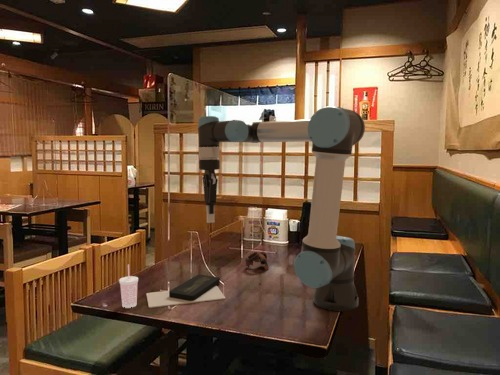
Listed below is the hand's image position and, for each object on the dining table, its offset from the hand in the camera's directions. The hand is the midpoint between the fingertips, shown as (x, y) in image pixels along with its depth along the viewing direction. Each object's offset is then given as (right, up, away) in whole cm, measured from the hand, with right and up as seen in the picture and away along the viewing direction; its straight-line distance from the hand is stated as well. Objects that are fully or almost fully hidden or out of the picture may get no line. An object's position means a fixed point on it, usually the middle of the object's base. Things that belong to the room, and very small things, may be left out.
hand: (210, 222), depth 148 cm
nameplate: (-10, -24, 0) cm, 26 cm away
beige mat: (-8, -26, -8) cm, 28 cm away
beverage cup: (-26, -27, -15) cm, 40 cm away
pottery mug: (+18, -23, +27) cm, 39 cm away
